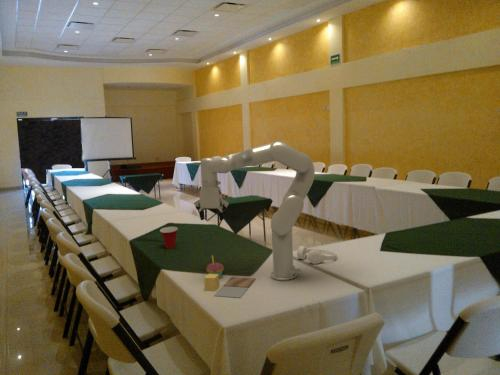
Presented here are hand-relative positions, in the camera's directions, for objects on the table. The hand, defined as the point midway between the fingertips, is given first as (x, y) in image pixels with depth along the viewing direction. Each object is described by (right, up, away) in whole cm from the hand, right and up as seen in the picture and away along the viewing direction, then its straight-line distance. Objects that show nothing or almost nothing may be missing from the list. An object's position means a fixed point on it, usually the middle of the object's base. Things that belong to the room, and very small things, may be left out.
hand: (212, 219), depth 199 cm
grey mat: (+10, -30, -16) cm, 36 cm away
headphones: (+54, -23, +26) cm, 64 cm away
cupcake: (+1, -28, +4) cm, 28 cm away
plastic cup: (-31, -22, +61) cm, 72 cm away
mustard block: (+1, -30, -11) cm, 32 cm away
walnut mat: (+13, -29, -5) cm, 32 cm away
